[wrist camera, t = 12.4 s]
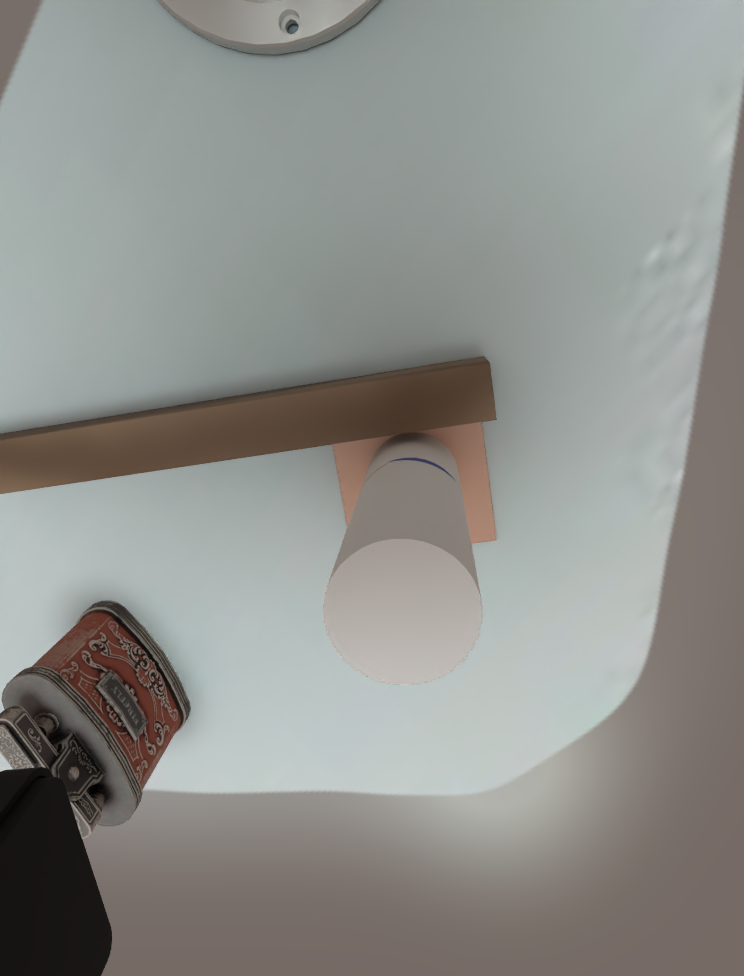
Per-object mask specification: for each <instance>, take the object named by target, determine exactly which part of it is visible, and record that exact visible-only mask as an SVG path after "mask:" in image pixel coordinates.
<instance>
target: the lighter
mask: <svg viewBox="0 0 744 976" xmlns="http://www.w3.org/2000/svg"><path fill="white" fill-rule="evenodd" d="M2 703H3V706H4V709H5V710H4V711H3V712H2V713H1V714H0V752H1V754H2V755H3V756H4V758H5V759H6V760H7V762H8V763H9V764H10V766H11V767H12V768H13V769H24V768H35V767H44V768H47V769H48V770H49V771H50V772H51V773H52V775H53V777H58V778H60V779H61V780H62V781H63V783H64V785H65V788H66V791H67V794H68V797H69V800H70V803H71V806H72V809H73V812H74V815H75V819H76V822H77V825H78V828H79V831H80V834H81V837H82V840H83V839H85V838H86V837H88V836H89V835H90V834H91V832H92V830H93V829H94V827H95V826H96V824H98V825H101V826H116V825H120V824H123V823H124V822H126V821H127V820H129V819H130V818H131V816H132V815H133V813H134V812H135V810H136V808H137V807H138V805H139V803H140V801H141V798H142V790H143V788H144V786H145V784H146V783H147V781H148V779H149V778H150V776H151V774H152V772H153V771H154V769H155V767H156V765H157V764H158V762H159V760H160V758H161V757H162V755H163V753H164V751H165V750H166V748H167V746H168V744H169V743H170V741H171V739H172V737H173V736H174V734H175V733H177V732H178V731H179V730H180V729H181V728H182V726H183V725H184V723H185V722H186V720H187V718H188V716H189V714H190V709H191V707H190V702H189V700H188V698H187V695H186V693H185V691H184V689H183V686H182V684H181V682H180V680H179V677H178V676H177V674H176V672H175V671H174V669H173V667H172V666H171V664H170V662H169V660H168V659H167V657H166V655H165V654H164V652H163V651H162V650H161V648H160V647H159V646H158V644H157V643H156V642H155V641H154V639H153V638H152V637H151V636H150V634H149V633H148V632H147V630H146V629H145V628H144V627H143V626H142V625H141V624H140V623H139V622H138V621H137V620H136V619H135V618H134V617H133V616H132V615H131V614H130V613H129V612H128V611H127V610H126V609H125V608H124V607H123V606H122V605H120V604H119V603H116V602H113V601H101V602H98V603H95V604H94V605H92V606H91V607H90V608H89V609H87V610H86V611H85V612H84V613H83V614H82V615H81V616H80V618H79V619H78V621H77V624H76V625H75V626H74V627H73V628H72V629H71V630H70V631H69V632H68V633H67V634H66V635H65V636H64V637H63V638H62V639H60V640H59V641H58V642H57V643H56V644H55V645H54V646H53V647H52V648H51V649H50V650H49V651H48V652H47V653H46V654H45V655H43V656H42V657H41V658H40V659H39V660H38V661H37V662H36V663H35V664H34V665H33V666H32V667H29V668H26V669H24V670H23V671H21V672H20V673H19V674H17V675H16V676H15V677H14V678H13V679H12V680H11V681H10V682H9V683H8V684H7V685H6V687H5V688H4V690H3V693H2Z"/></svg>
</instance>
